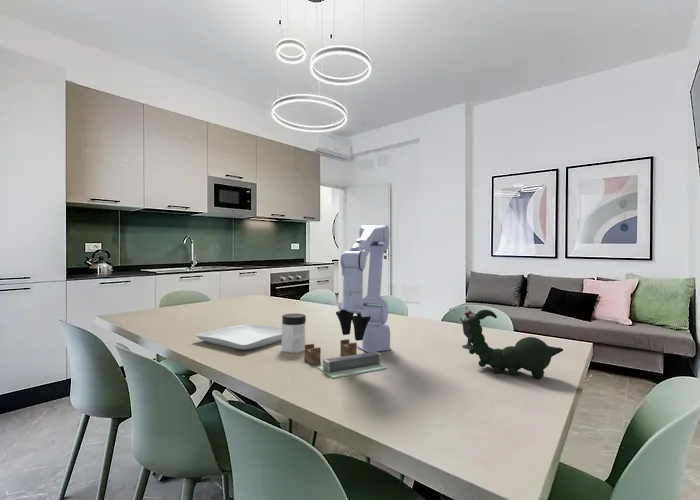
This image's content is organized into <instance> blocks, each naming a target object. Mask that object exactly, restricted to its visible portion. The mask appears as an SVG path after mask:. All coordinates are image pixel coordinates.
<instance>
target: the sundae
mask: <svg viewBox="0 0 700 500" xmlns="http://www.w3.org/2000/svg"><path fill="white" fill-rule="evenodd" d="M467 310H468V312H467ZM476 315H477V313H474V312H472V310H469V308H468V306H465V312H464V315H463V316H462V317H461V318H460V319H459V320H460V321H461V323H462V332H463V335H464V336H465V337H466V338H467V340H468V339H469V338H470V336H471V334H470V333H468V331H467V329H468V328H469V326H470V325H469V324H468V323H467V320H469V318H470V317H472V316H476ZM472 346H473V344H472V343H469V342H468V341H467V343H466V344H465V345H464V344H463V345H462V346H461V347H462V348H463V349H467V350H470V349H471V348H472Z"/></svg>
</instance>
